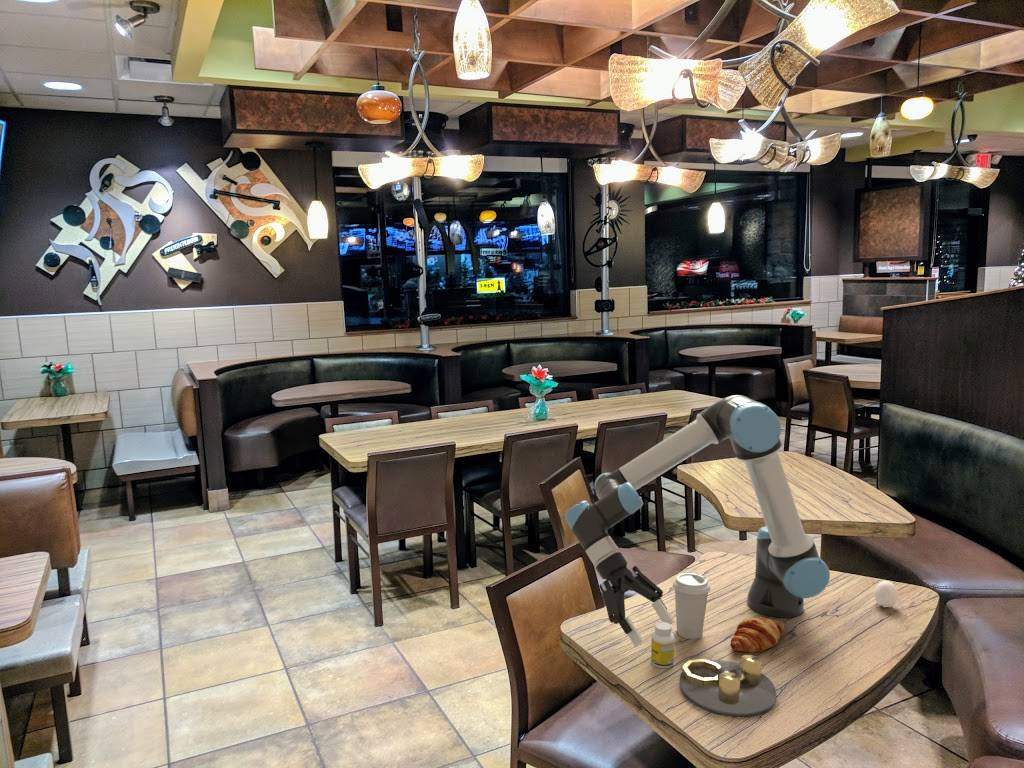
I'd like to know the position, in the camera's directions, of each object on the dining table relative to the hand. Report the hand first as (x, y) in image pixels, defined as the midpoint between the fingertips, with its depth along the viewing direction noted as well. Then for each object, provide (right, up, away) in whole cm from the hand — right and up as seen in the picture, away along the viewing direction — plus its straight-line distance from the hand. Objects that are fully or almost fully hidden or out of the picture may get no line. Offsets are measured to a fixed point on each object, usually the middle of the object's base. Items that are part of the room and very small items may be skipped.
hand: (655, 634), depth 181 cm
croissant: (+29, -6, +11) cm, 31 cm away
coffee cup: (+12, -5, +16) cm, 20 cm away
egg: (+71, -3, +32) cm, 78 cm away
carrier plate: (+14, -9, -11) cm, 20 cm away
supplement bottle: (+2, -7, 0) cm, 8 cm away
